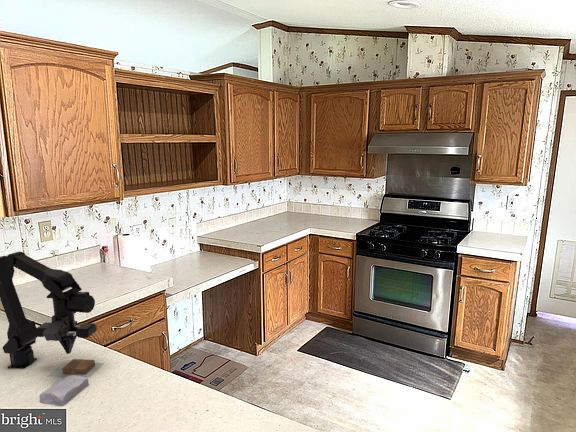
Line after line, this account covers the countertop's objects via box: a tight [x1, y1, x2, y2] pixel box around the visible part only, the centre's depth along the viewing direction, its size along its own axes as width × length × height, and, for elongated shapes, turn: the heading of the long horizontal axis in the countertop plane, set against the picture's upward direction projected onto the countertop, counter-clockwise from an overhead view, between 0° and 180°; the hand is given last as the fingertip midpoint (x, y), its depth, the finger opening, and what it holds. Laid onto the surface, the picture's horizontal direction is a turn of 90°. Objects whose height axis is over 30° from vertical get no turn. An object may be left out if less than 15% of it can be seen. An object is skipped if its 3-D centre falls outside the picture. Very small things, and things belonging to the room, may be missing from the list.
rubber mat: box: [47, 361, 105, 378], centre depth 139 cm, size 15×9×1 cm, turn 86°
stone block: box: [39, 375, 89, 407], centre depth 126 cm, size 12×5×10 cm
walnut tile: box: [62, 358, 96, 375], centre depth 139 cm, size 2×6×8 cm
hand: (68, 353), depth 139 cm, fingers closed
